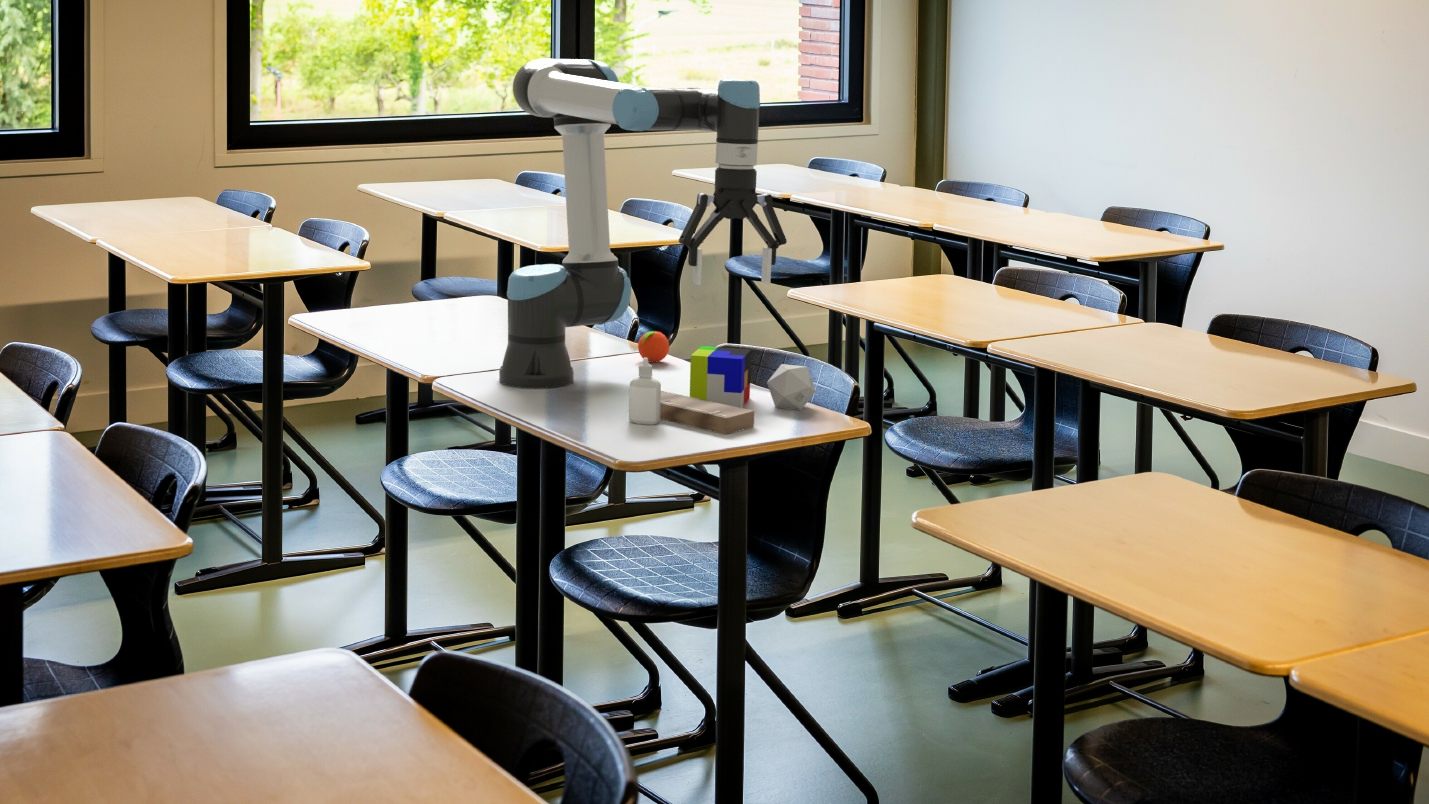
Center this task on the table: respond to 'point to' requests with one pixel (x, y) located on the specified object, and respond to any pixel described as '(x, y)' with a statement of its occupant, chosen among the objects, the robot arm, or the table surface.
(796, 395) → the die
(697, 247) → the robot arm
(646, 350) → the clementine
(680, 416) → the walnut block
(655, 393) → the eye dropper bottle
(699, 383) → the puzzle toy
